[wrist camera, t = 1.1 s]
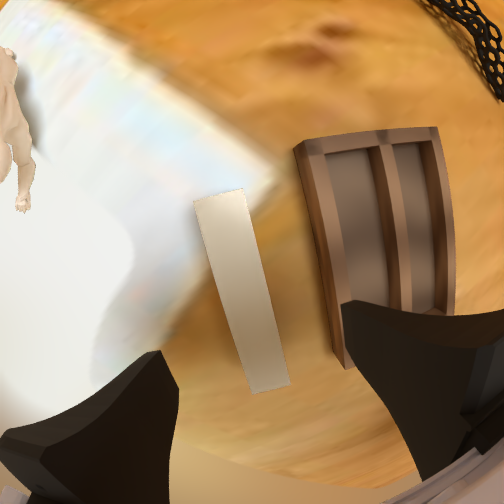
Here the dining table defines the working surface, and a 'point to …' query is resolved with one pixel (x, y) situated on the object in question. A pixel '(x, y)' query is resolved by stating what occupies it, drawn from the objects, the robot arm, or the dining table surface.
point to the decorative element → (479, 38)
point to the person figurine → (14, 132)
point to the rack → (380, 222)
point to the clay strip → (243, 288)
